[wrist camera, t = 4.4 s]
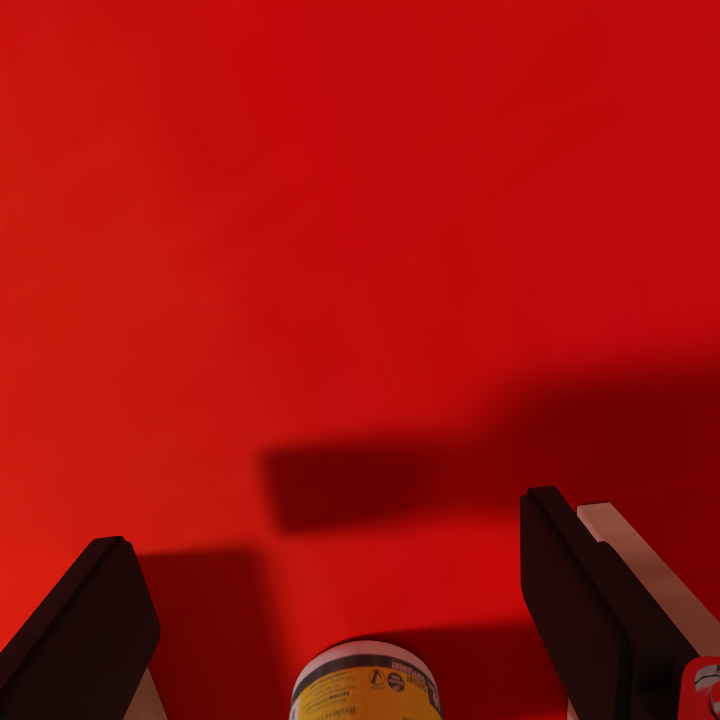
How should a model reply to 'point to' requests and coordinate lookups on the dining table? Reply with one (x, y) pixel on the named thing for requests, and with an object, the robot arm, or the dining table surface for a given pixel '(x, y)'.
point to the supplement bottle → (366, 685)
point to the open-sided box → (604, 525)
